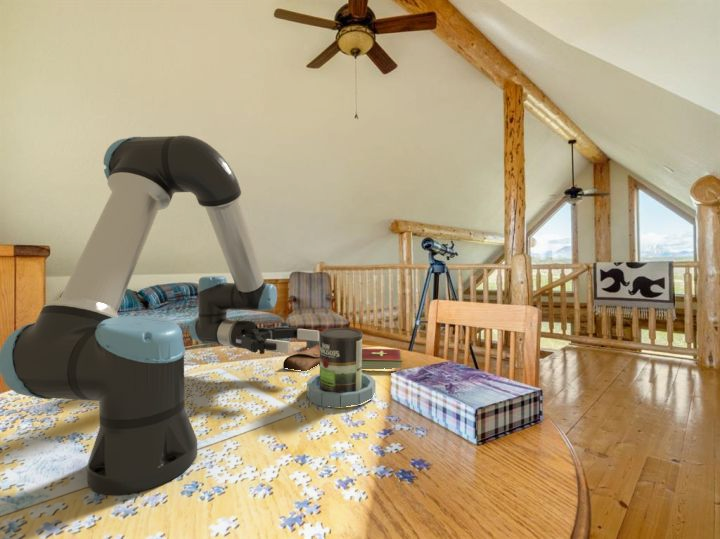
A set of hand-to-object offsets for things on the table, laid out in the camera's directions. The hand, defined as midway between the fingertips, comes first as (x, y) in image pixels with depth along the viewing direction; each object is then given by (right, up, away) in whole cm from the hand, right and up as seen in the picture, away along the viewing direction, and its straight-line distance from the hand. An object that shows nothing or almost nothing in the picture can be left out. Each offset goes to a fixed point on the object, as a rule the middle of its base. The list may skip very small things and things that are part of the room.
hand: (304, 341), depth 91 cm
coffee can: (+9, -11, -4) cm, 15 cm away
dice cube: (-2, -10, +37) cm, 38 cm away
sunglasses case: (-1, -11, +20) cm, 23 cm away
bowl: (+9, -12, -4) cm, 16 cm away
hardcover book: (+16, -11, +18) cm, 26 cm away
